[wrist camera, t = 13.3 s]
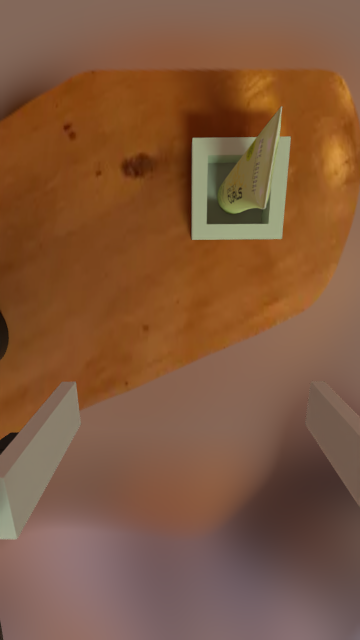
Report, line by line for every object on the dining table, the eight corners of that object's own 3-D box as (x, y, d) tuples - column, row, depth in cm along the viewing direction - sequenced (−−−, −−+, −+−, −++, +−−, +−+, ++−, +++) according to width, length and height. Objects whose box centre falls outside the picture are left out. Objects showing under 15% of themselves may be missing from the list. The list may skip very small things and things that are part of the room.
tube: (207, 188, 41) (228, 147, 23) (236, 166, 41) (283, 104, 22) (228, 221, 43) (264, 209, 24) (257, 200, 42) (318, 170, 23)
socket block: (191, 239, 44) (192, 239, 40) (191, 148, 40) (192, 137, 36) (272, 238, 44) (281, 238, 39) (279, 147, 40) (290, 136, 36)
